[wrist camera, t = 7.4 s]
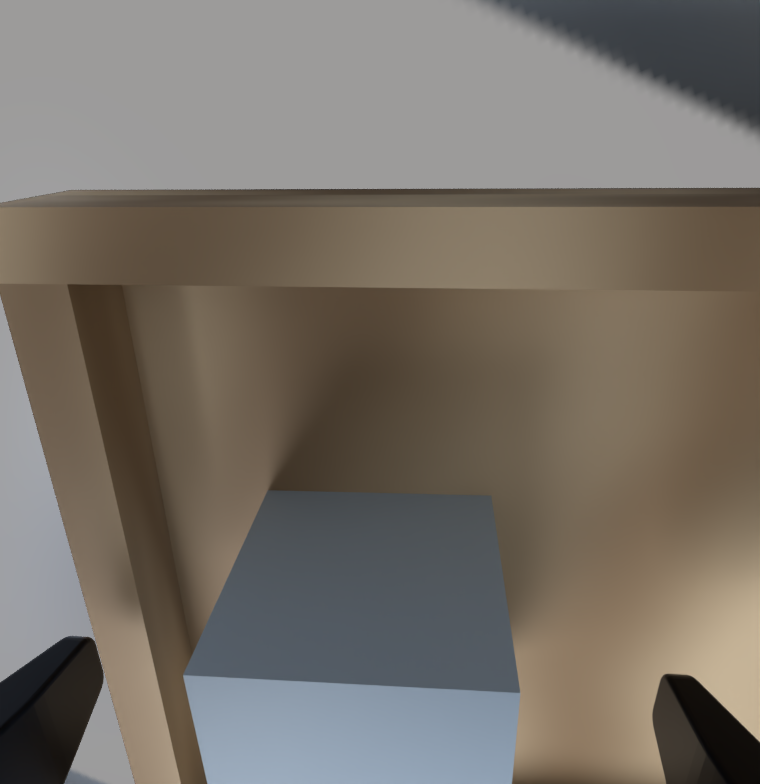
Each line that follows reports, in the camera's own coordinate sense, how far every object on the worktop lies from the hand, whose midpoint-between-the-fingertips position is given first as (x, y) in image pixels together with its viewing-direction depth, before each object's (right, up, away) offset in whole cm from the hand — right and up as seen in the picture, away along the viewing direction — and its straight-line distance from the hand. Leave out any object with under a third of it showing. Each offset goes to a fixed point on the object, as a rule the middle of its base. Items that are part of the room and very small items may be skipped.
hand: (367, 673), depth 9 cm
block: (0, +1, +2) cm, 2 cm away
